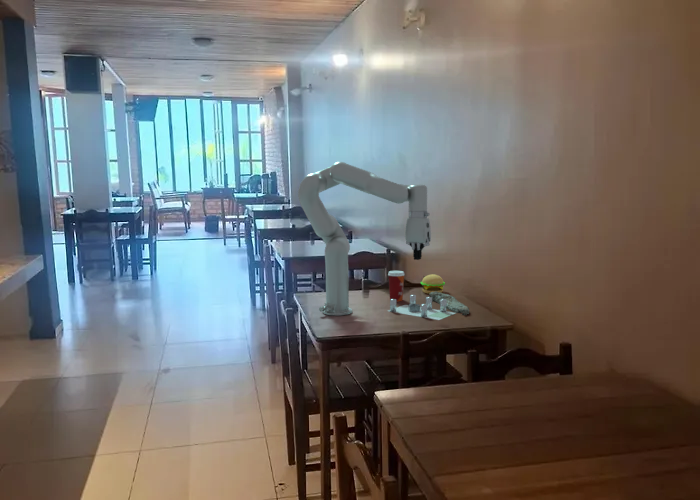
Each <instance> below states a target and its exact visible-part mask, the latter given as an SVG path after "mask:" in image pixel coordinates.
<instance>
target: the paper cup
mask: <svg viewBox="0 0 700 500" xmlns="http://www.w3.org/2000/svg"><path fill="white" fill-rule="evenodd" d="M405 275H406V274H405V272H404V271H402V270H390V271H388V274H387V276H388V289H389V300H390V299H396V302H403V299H404V298H403V297H404V285H405V284H404V282H405Z"/></svg>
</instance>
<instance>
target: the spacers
mask: <svg viewBox="0 0 700 500" xmlns="http://www.w3.org/2000/svg"><path fill="white" fill-rule="evenodd" d="M389 304H390V305H389V310H390V311H389V312H390V313H396V308H397V301H396V299H390V298H389ZM409 304H417V295H416V294H409ZM420 307H421V317H420V318H424V317H427V310H432V309H433V301H432V297H429V296H426V297H425V303H421V304H420ZM439 310H440V312H446V311H447V300H446V299H441V300H440V304H439Z"/></svg>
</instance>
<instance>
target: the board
mask: <svg viewBox="0 0 700 500" xmlns="http://www.w3.org/2000/svg"><path fill="white" fill-rule="evenodd" d="M408 305H409V304H404V305H400V306H396V312H395V313H396V314H402V315H409V316H412V317H419V318H422V317H421V306H420V311H419V312H410V311H409V310H408ZM387 312H390V309H387ZM455 314H456V312H453V311H447V310H446V312H440V309H435V308H432V310H427V317H423V318H425V319H431V320H436V321H440V320H443V319H445V318H448V317H451V316H453V315H455Z"/></svg>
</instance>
